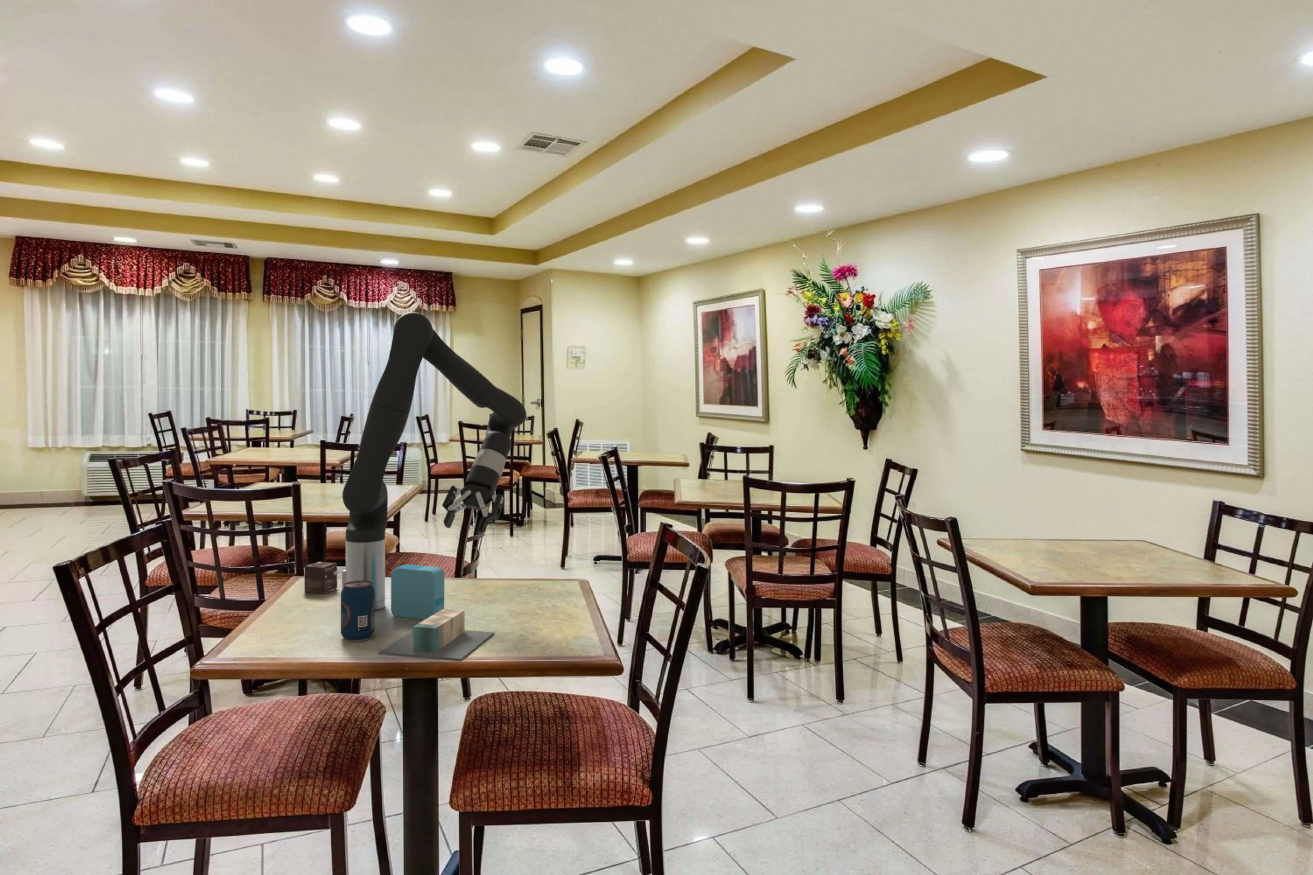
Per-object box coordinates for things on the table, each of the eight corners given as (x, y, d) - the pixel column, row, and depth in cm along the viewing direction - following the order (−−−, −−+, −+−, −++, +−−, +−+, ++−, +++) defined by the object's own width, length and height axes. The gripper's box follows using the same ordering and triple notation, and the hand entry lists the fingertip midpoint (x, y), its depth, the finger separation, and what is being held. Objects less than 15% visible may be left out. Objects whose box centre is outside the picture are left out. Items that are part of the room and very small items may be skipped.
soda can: (336, 636, 169) (336, 582, 168) (369, 630, 173) (369, 578, 173) (345, 644, 163) (345, 588, 163) (378, 638, 168) (378, 584, 167)
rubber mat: (378, 654, 158) (378, 652, 158) (419, 628, 176) (419, 626, 175) (461, 660, 155) (461, 658, 155) (494, 633, 173) (494, 632, 173)
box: (323, 594, 203) (323, 567, 203) (303, 593, 204) (303, 565, 204) (337, 589, 209) (337, 562, 209) (318, 587, 210) (318, 561, 210)
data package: (444, 616, 186) (444, 567, 185) (434, 621, 181) (434, 571, 181) (401, 611, 189) (401, 563, 188) (390, 616, 185) (390, 567, 184)
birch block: (443, 630, 173) (413, 650, 159) (443, 608, 173) (413, 626, 159) (464, 631, 172) (435, 652, 159) (464, 610, 172) (435, 628, 158)
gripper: (455, 459, 189) (430, 518, 182) (507, 468, 186) (484, 528, 178) (465, 474, 196) (442, 531, 188) (516, 482, 192) (494, 541, 185)
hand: (462, 529), depth 183 cm, fingers open, 8 cm apart
